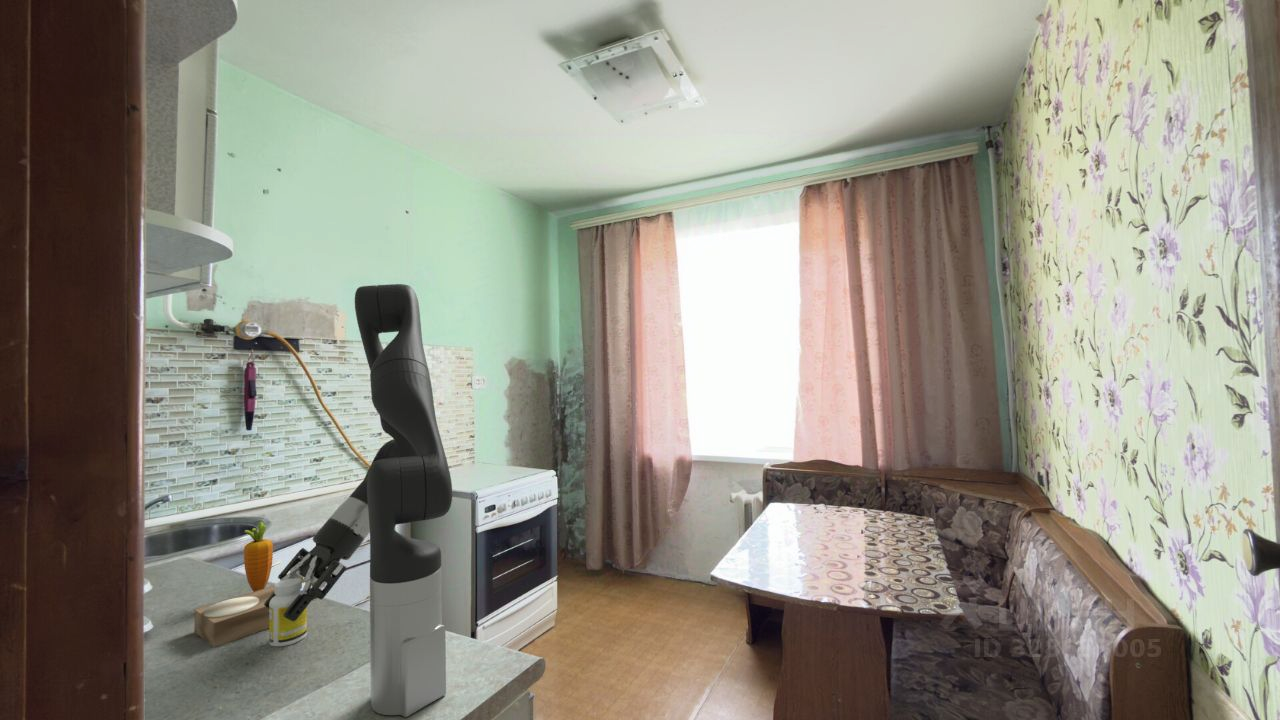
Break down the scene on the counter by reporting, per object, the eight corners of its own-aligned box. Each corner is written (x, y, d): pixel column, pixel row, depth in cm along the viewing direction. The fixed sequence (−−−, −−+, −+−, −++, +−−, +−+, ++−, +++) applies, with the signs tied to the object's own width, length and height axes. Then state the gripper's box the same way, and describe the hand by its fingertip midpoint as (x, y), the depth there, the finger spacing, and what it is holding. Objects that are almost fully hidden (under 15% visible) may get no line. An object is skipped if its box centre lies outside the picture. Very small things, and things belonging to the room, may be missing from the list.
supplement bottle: (314, 632, 92) (314, 576, 93) (288, 648, 87) (288, 589, 87) (287, 631, 93) (287, 575, 94) (260, 646, 88) (260, 587, 88)
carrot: (257, 601, 107) (257, 527, 107) (237, 599, 108) (237, 526, 108) (278, 591, 111) (278, 520, 112) (259, 589, 112) (259, 519, 113)
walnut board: (305, 614, 100) (305, 592, 100) (214, 647, 88) (214, 621, 88) (282, 603, 105) (282, 581, 105) (194, 632, 94) (194, 607, 94)
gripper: (315, 512, 101) (243, 594, 91) (352, 522, 93) (278, 613, 83) (343, 532, 105) (278, 613, 95) (382, 544, 97) (314, 633, 87)
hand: (278, 613), depth 89 cm, fingers open, 7 cm apart
